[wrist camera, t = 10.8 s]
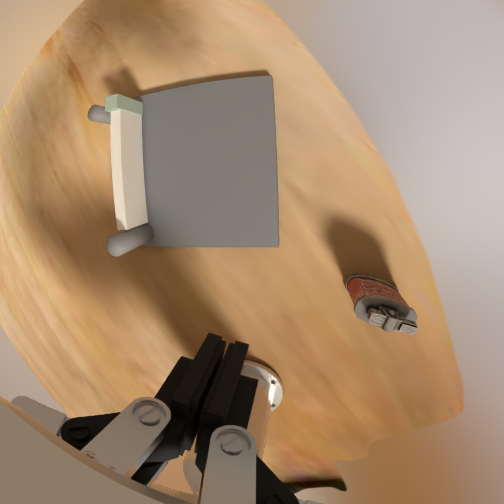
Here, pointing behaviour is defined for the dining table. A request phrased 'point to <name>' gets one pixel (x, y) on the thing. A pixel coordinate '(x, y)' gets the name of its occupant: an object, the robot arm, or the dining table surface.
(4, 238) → the dining table surface
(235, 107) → the base
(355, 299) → the lighter
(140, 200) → the pale rectangular block
